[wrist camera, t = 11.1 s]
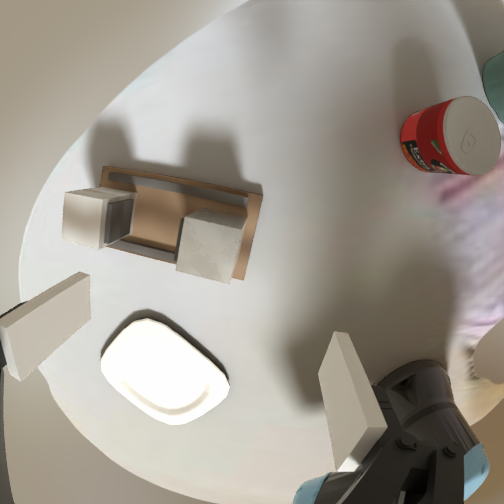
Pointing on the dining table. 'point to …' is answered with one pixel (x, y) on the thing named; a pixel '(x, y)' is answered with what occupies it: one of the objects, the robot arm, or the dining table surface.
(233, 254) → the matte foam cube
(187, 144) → the dining table surface
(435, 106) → the canned food
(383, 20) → the dining table surface
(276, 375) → the dining table surface
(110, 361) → the plate
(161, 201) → the rail board
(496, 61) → the flower pot
